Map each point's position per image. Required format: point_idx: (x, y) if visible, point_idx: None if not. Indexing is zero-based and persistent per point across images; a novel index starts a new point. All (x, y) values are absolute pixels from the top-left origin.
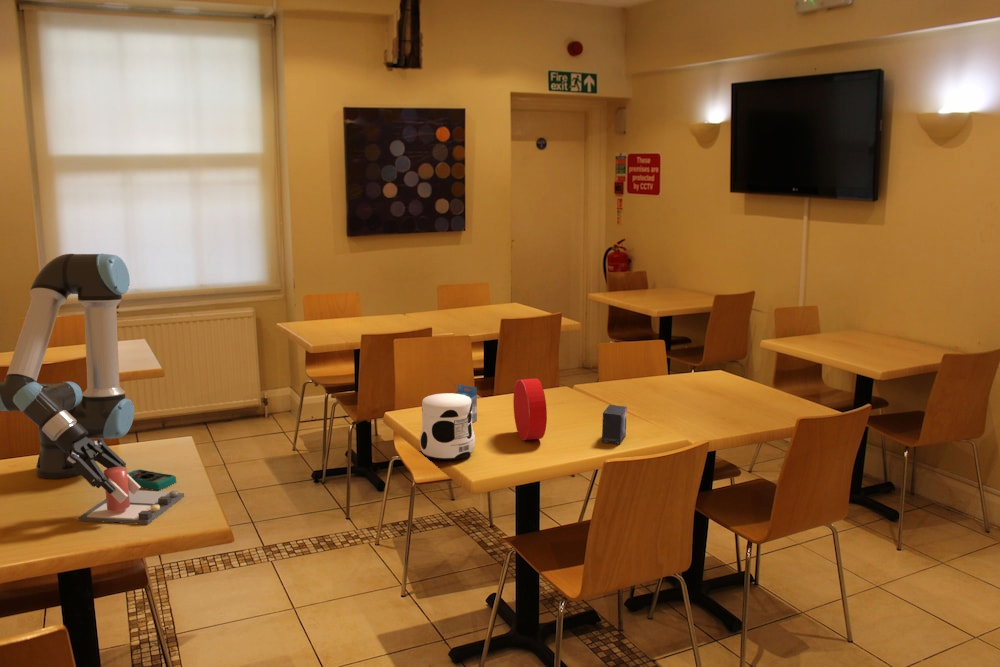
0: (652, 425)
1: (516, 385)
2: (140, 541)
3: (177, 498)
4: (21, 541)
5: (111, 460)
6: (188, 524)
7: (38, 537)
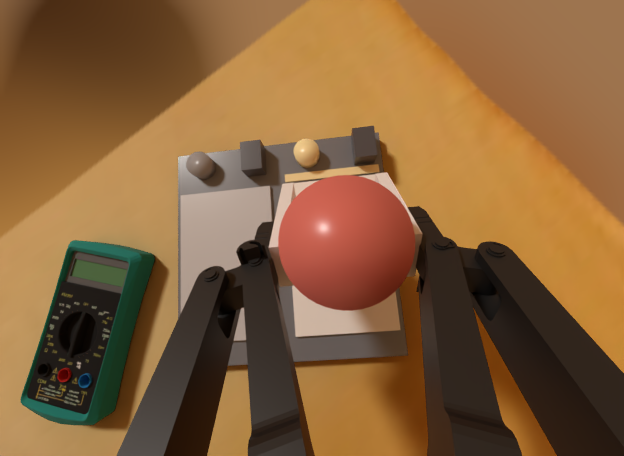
0: None
1: None
2: (474, 93)
3: (214, 153)
4: None
5: (265, 324)
6: (348, 47)
7: None
